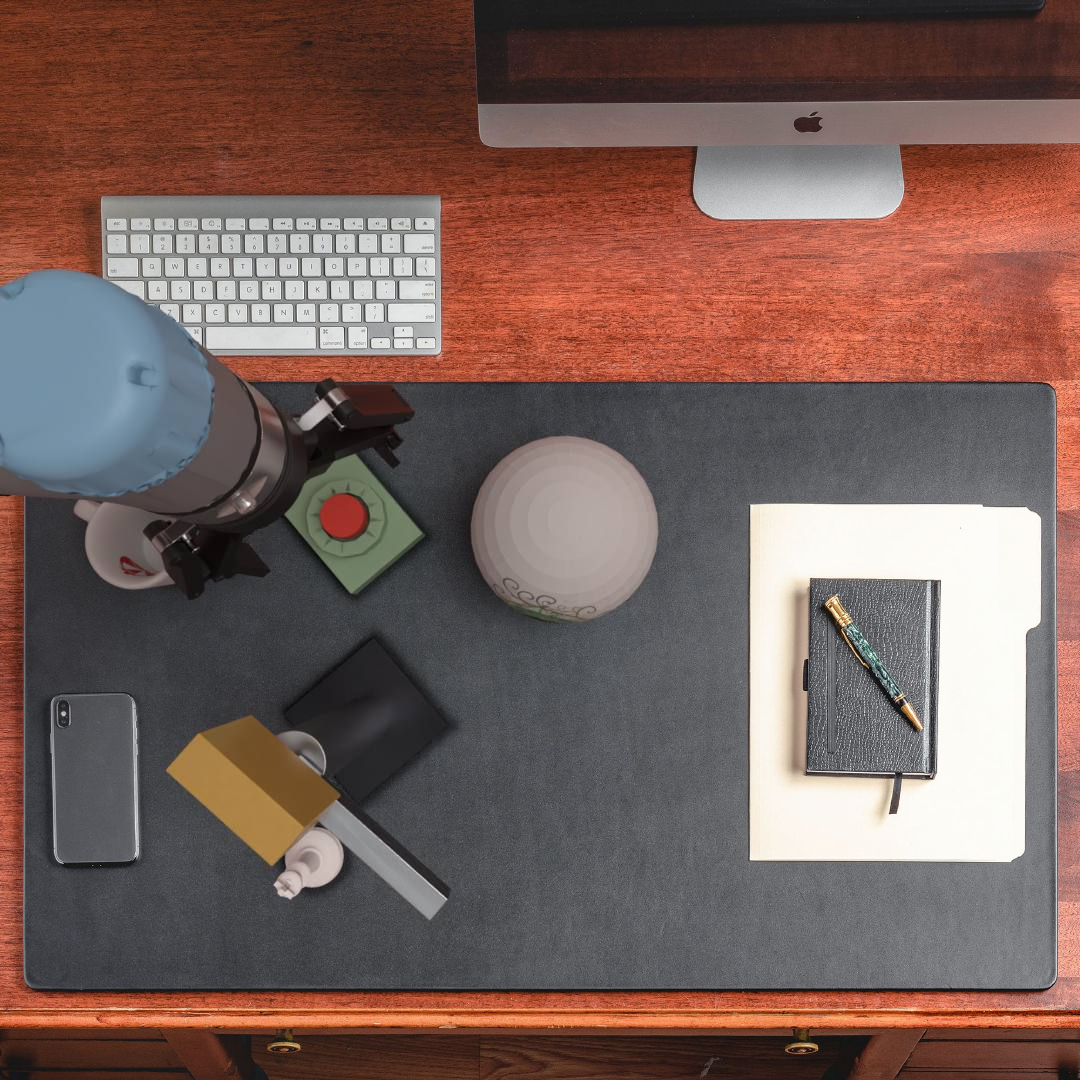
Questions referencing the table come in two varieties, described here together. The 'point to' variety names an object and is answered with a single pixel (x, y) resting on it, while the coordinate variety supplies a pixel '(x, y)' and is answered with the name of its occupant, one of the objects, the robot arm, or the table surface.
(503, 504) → the decorative object
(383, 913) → the table surface
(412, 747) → the faucet body
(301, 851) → the chess piece
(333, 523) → the button
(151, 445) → the robot arm
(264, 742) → the tap handle
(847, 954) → the table surface
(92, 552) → the cup
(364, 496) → the button box
